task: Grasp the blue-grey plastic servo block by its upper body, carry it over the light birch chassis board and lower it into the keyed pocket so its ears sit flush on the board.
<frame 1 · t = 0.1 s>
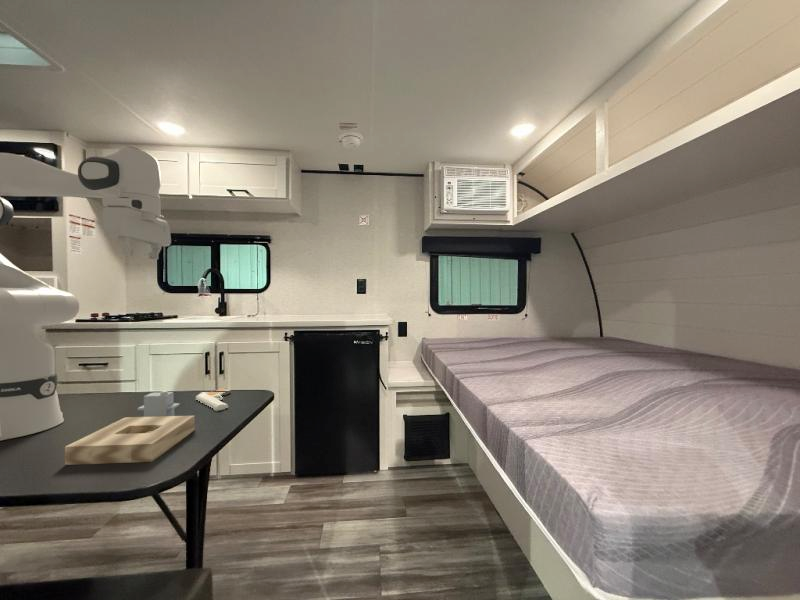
hand: (141, 257, 86), 48 cm above the table, fingers open, 8 cm apart
servo: (159, 421, 90), on the table
pistol: (220, 402, 108), on the table
chassis: (137, 445, 75), on the table
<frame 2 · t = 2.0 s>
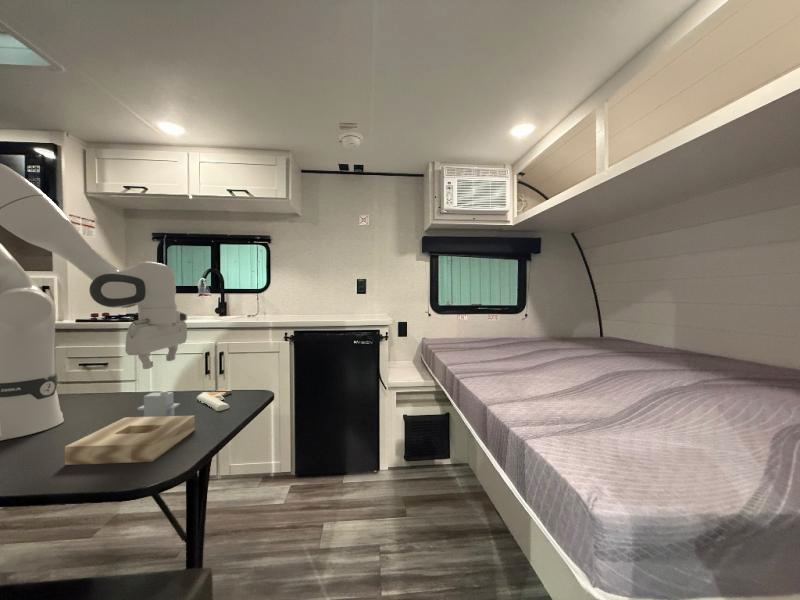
hand: (160, 364, 90), 17 cm above the table, fingers open, 8 cm apart
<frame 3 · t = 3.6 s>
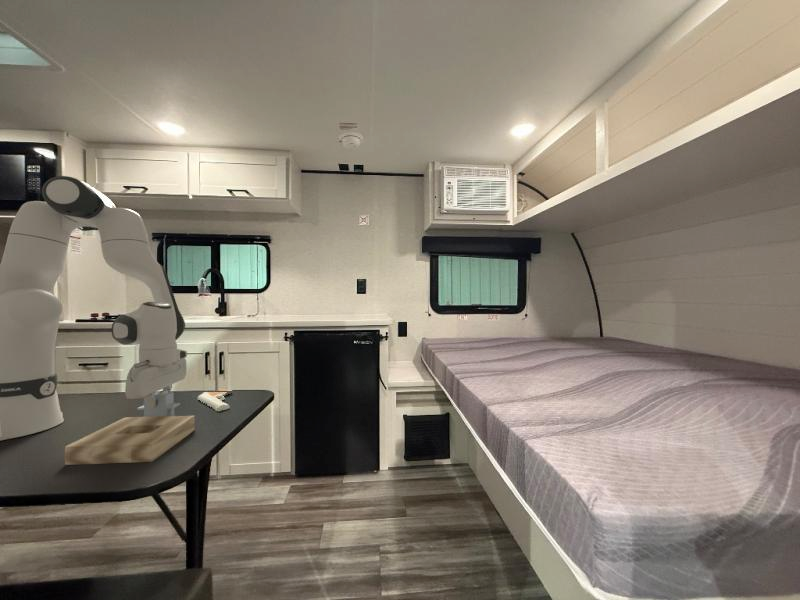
hand: (158, 403, 90), 5 cm above the table, fingers closed on servo, 3 cm apart
servo: (159, 421, 90), on the table, touching gripper
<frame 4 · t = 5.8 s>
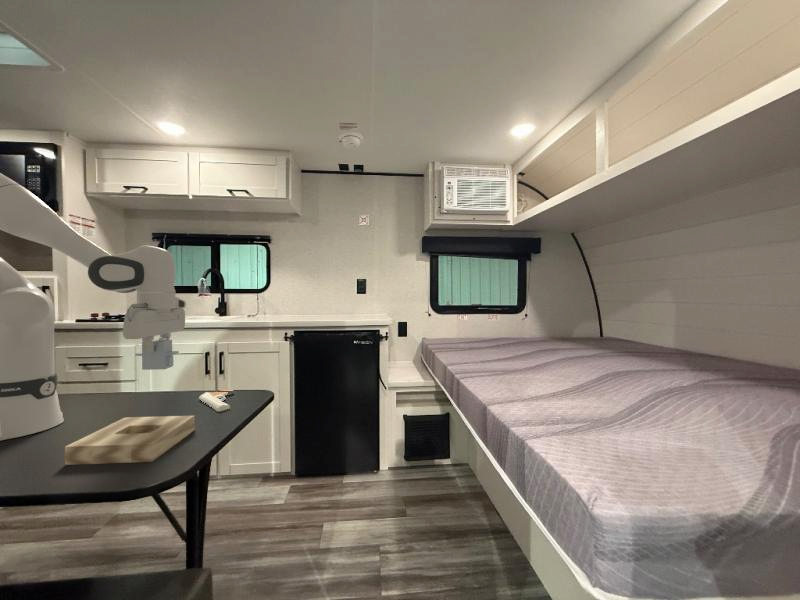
hand: (157, 350, 88), 21 cm above the table, fingers closed on servo, 3 cm apart
servo: (157, 368, 89), point 16 cm above the table, touching gripper
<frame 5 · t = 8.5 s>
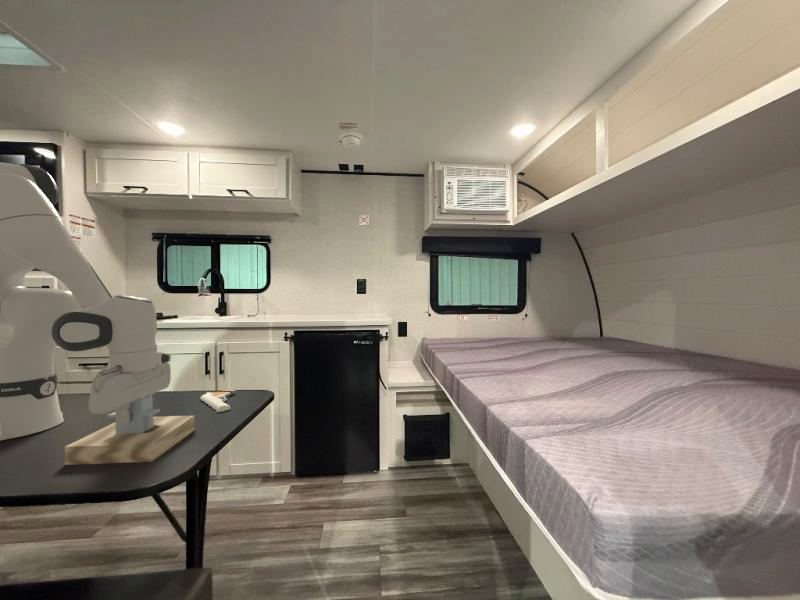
hand: (134, 417, 75), 7 cm above the table, fingers closed on servo, 3 cm apart
servo: (134, 430, 75), point 4 cm above the table, touching chassis, gripper
when the fingers open (6 cm above the table, at t = 9.5 s): servo drops 4 cm, resting on chassis.
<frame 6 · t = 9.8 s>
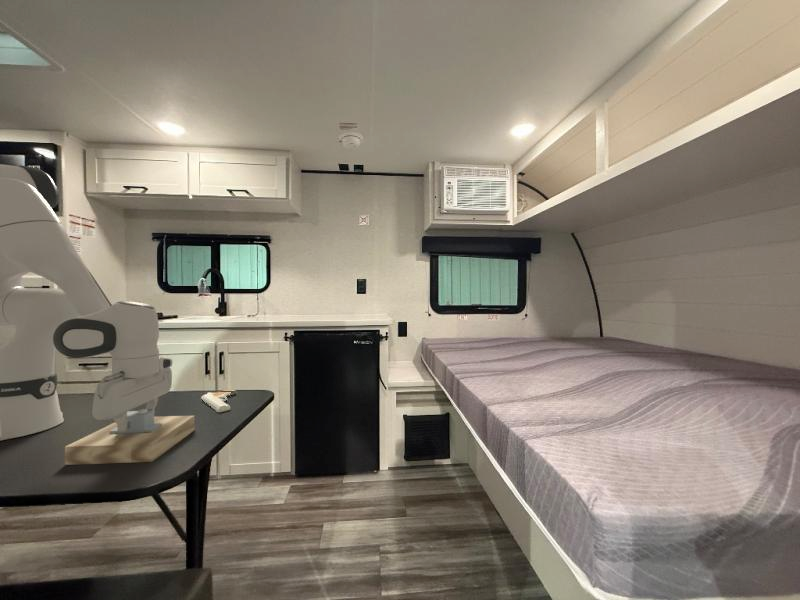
hand: (137, 422, 75), 6 cm above the table, fingers open, 6 cm apart
servo: (136, 445, 75), resting on chassis
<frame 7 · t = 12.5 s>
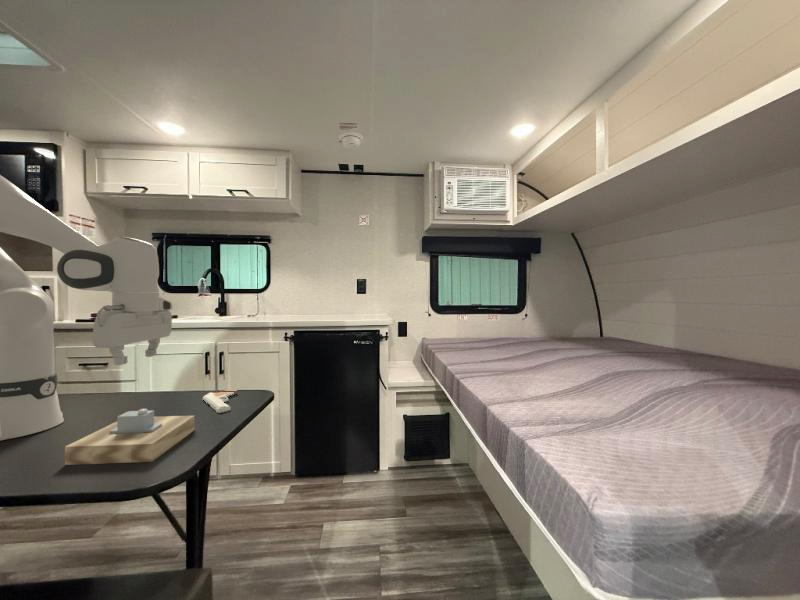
hand: (136, 360, 75), 21 cm above the table, fingers open, 8 cm apart
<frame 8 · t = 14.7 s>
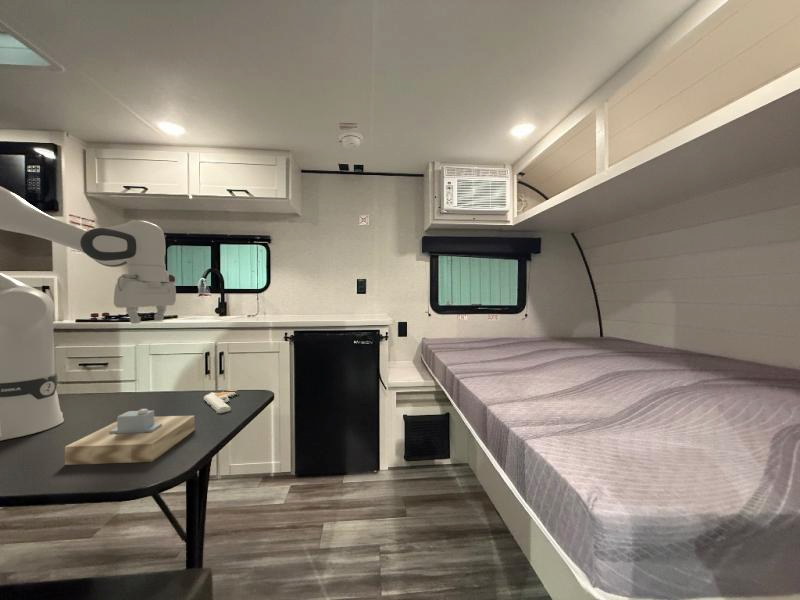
hand: (147, 321, 92), 29 cm above the table, fingers open, 8 cm apart
at the end: servo 0.1 cm off-centre on the chassis, point 0.0 cm above the chassis's base; servo tilted 0°; the gripper is holding nothing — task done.
